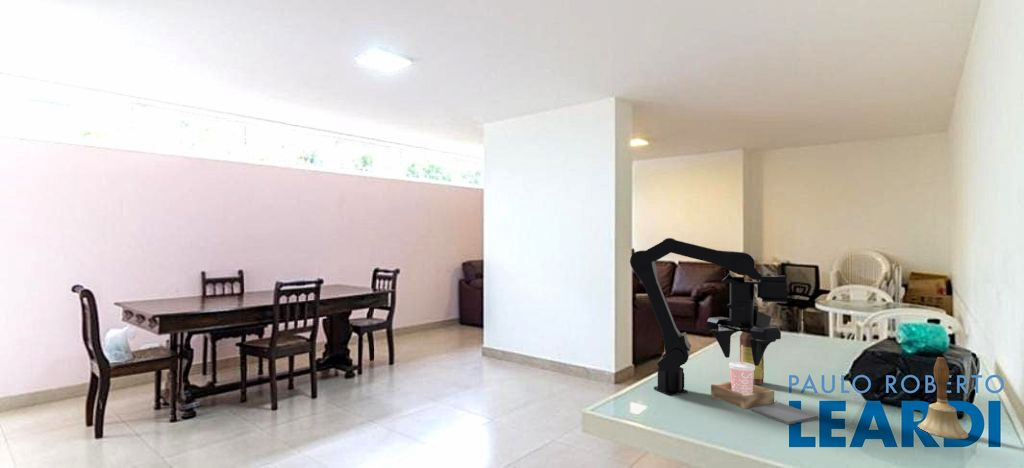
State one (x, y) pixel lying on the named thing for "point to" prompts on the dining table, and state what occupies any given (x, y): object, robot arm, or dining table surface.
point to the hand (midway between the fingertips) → (741, 361)
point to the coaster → (784, 413)
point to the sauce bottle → (751, 357)
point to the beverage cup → (742, 376)
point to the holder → (742, 395)
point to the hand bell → (942, 408)
